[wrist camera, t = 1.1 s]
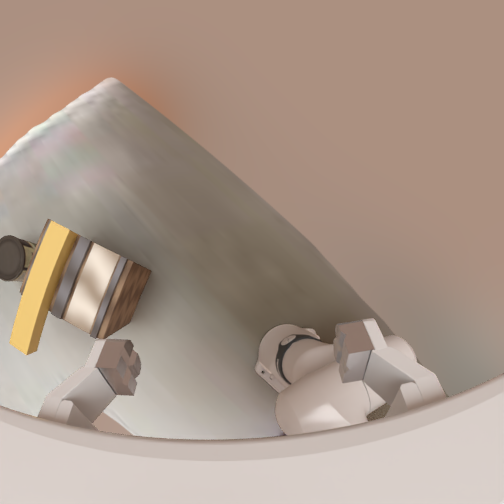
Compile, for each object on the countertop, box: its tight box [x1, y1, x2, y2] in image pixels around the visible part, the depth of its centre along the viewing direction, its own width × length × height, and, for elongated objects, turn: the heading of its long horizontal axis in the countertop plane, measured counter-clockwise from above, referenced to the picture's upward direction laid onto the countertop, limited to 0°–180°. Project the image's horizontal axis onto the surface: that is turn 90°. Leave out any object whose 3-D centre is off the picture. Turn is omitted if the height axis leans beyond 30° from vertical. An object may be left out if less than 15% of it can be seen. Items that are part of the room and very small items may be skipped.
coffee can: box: [0, 235, 37, 281], centre depth 57 cm, size 10×10×14 cm
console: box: [20, 219, 151, 339], centre depth 55 cm, size 14×19×27 cm
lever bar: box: [9, 220, 78, 355], centre depth 40 cm, size 22×4×4 cm, turn 157°
